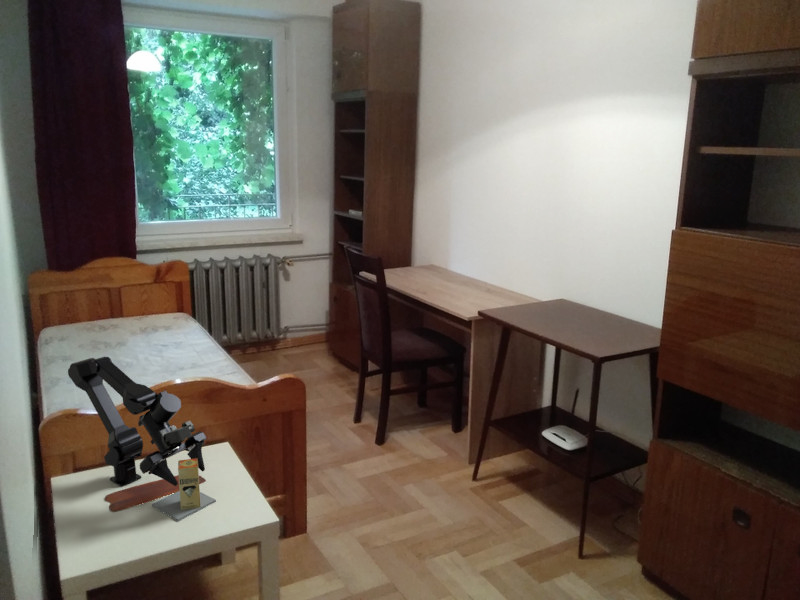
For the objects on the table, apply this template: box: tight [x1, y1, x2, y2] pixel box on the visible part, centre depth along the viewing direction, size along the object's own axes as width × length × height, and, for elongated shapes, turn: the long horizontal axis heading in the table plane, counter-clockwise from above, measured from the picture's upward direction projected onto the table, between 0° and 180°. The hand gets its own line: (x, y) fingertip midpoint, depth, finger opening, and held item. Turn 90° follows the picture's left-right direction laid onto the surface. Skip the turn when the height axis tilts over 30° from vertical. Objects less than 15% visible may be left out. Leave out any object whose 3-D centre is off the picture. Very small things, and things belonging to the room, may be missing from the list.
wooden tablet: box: [104, 475, 207, 513], centre depth 179 cm, size 27×10×2 cm, turn 129°
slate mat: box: [150, 491, 217, 522], centre depth 172 cm, size 12×12×1 cm
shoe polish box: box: [177, 458, 201, 510], centre depth 170 cm, size 5×5×12 cm
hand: (190, 477), depth 169 cm, fingers open, 9 cm apart
